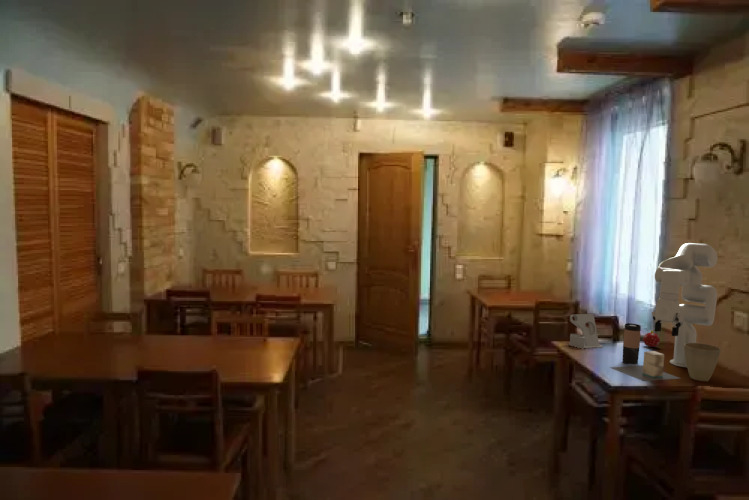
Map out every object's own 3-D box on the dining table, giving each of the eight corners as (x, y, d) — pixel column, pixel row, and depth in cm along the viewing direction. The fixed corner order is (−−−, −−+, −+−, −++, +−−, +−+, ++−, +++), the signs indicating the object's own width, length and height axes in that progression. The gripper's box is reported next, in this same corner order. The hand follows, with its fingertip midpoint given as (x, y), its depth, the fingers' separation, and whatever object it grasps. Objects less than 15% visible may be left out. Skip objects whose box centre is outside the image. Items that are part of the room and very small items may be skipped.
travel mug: (638, 362, 291) (641, 324, 290) (638, 365, 285) (641, 327, 283) (622, 360, 295) (624, 322, 293) (621, 363, 288) (624, 325, 286)
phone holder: (579, 348, 316) (581, 317, 315) (567, 344, 326) (569, 314, 324) (603, 347, 322) (605, 316, 321) (591, 343, 332) (593, 313, 330)
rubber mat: (645, 366, 284) (645, 365, 284) (680, 379, 263) (681, 378, 263) (609, 368, 277) (609, 367, 277) (643, 382, 256) (643, 381, 256)
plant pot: (674, 375, 270) (676, 342, 268) (700, 374, 273) (702, 342, 272) (698, 385, 255) (701, 350, 254) (725, 384, 258) (728, 350, 257)
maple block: (652, 373, 269) (654, 351, 268) (662, 377, 263) (664, 354, 263) (642, 374, 267) (644, 351, 266) (652, 378, 261) (654, 354, 261)
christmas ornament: (639, 345, 330) (640, 329, 329) (649, 344, 333) (651, 328, 333) (652, 349, 322) (653, 332, 321) (662, 348, 326) (663, 331, 325)
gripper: (648, 293, 264) (645, 329, 265) (678, 299, 248) (675, 337, 249) (660, 294, 267) (657, 329, 268) (691, 299, 250) (688, 337, 251)
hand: (666, 333), depth 258 cm, fingers open, 9 cm apart
